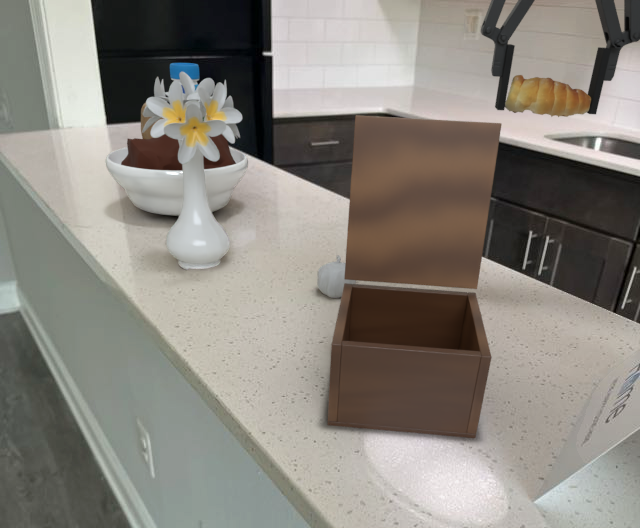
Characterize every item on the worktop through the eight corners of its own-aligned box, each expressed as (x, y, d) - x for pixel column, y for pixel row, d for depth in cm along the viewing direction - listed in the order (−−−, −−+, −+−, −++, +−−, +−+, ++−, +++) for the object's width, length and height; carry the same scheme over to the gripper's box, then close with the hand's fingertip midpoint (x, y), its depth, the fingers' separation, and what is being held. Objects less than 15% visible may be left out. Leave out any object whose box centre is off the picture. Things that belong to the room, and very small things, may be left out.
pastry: (587, 112, 78) (595, 76, 76) (587, 121, 72) (596, 82, 70) (507, 107, 80) (513, 72, 78) (501, 115, 75) (507, 77, 73)
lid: (501, 123, 61) (500, 123, 62) (355, 115, 62) (355, 115, 63) (477, 289, 68) (476, 287, 68) (344, 279, 69) (344, 278, 69)
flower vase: (174, 293, 88) (155, 85, 75) (146, 250, 102) (126, 69, 88) (265, 282, 93) (263, 84, 79) (227, 242, 107) (219, 69, 93)
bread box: (474, 442, 61) (491, 356, 56) (327, 429, 62) (331, 344, 57) (462, 367, 73) (476, 292, 68) (339, 358, 74) (344, 282, 69)
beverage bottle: (207, 158, 161) (202, 66, 150) (172, 158, 160) (164, 65, 149) (207, 151, 168) (202, 62, 157) (173, 151, 167) (166, 61, 156)
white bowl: (103, 197, 127) (91, 112, 119) (227, 190, 136) (224, 110, 128) (124, 235, 108) (111, 137, 100) (267, 223, 117) (266, 132, 109)
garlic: (328, 284, 93) (329, 248, 90) (362, 292, 91) (365, 255, 88) (308, 298, 88) (309, 260, 86) (343, 306, 86) (346, 268, 84)
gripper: (481, -149, 62) (450, 110, 74) (726, -146, 60) (652, 119, 73) (474, -135, 68) (446, 102, 80) (696, -132, 67) (633, 110, 79)
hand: (544, 110), depth 76 cm, fingers closed on pastry, 10 cm apart
